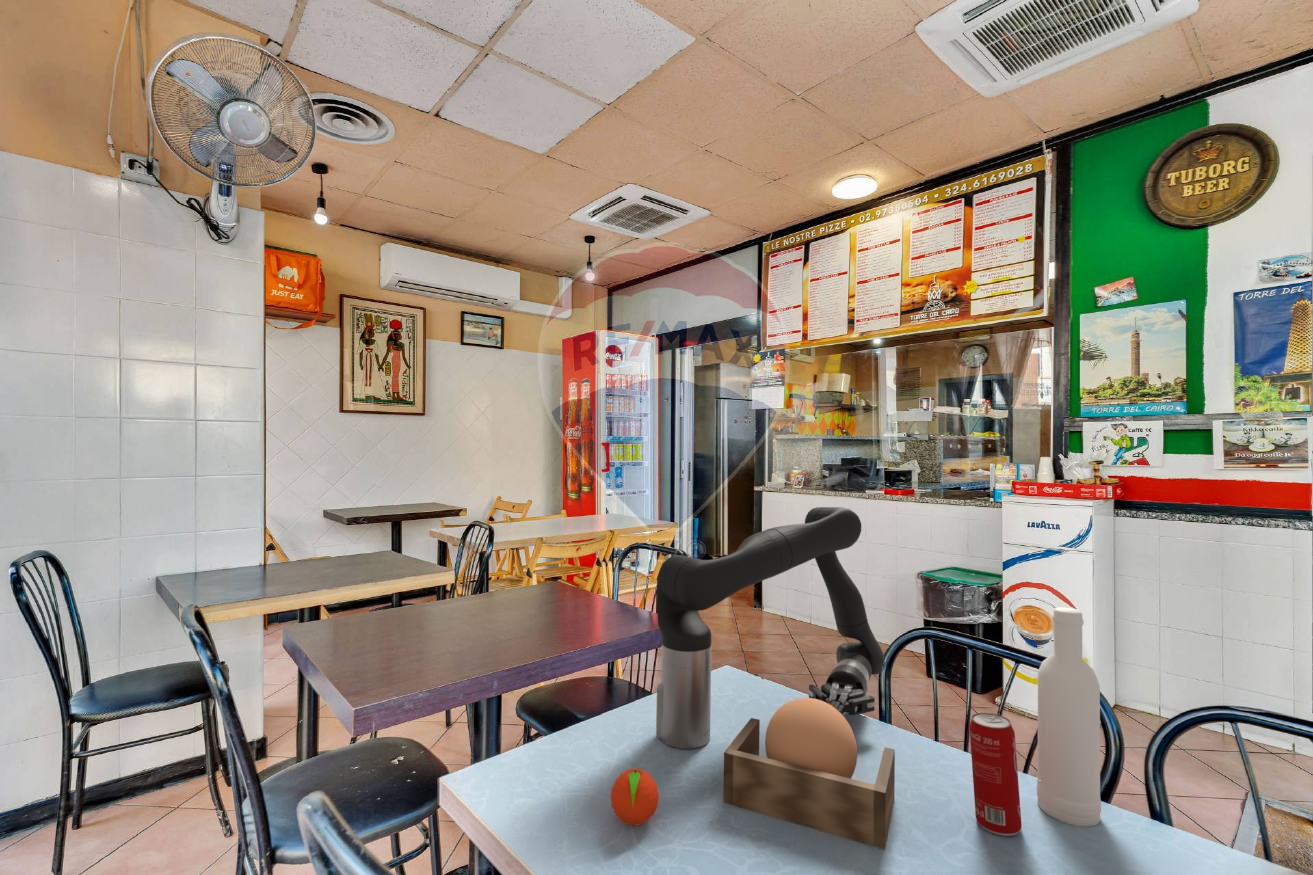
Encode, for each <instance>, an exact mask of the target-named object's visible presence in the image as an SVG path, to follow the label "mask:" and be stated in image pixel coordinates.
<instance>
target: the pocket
mask: <svg viewBox="0 0 1313 875" xmlns="http://www.w3.org/2000/svg"><path fill="white" fill-rule="evenodd" d="M760 721H761V720H760V719H759V718H758V719H757V718H753V717H751V718H750V719H749V720H748V721H747V723H746V724H745V725H744V726H743V727H742V729H741V730H740V731H739V733H738V734H737V735H736V737H735V738H734V739H733V740H732V741H731V743H730V744H729V745H728V747H726V749H725V750H724V751H723V786H722V787H723V792H722V794H723V796H722V797H723V798H722V800H723V802H722V803H724V804H725V805H726V804H727V805H729V806H730V805H731V806H732V807H733V806H734V807H737V808H741V809H744V810H747V811H751V812H755V813H757V814H761V815H765V816H768V817H771V818H774V819H779V820H782V821H785V822H789V823H792V824H795V825H799V826H803V827H805V828H808V829H813V830H817V831H819V832H822V833H826V834H829V835H832V836H837V837H839V838H842V839H843V838H844V839H845V840H846V839H847V840H851V841H854V842H856V843H861V844H864V845H868V846H870V847H874V848H877V849H881V850H886V847H887V842H888V836H889V830H890V825H891V820H892V815H893V809H894V803H895V798H896V797H895V787H896V786H895V784H896V781H895V780H896V779H895V777H896V776H895V774H896V773H895V772H896V771H895V770H896V769H895V768H896V766H895V765H896V764H895V762H896V757H895V755H896V752H895V749H894V748H889V747H886V746H884V747H883V751H882V755H881V760H880V764H879V768H878V771H877V777H876V780H875V784H874V783H870V782H866V781H861V780H858V779H853V778H851V779H850V778H846V777H842V776H838V775H834V774H830V773H826V772H822V771H818V770H814V769H810V768H805V767H801V766H797V765H793V764H789V763H785V762H781V761H777V760H773V759H769V758H767V757H764V756H760V728H761V727H760V726H761V725H760V724H761V723H760Z"/></svg>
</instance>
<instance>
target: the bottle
mask: <svg viewBox="0 0 1313 875" xmlns="http://www.w3.org/2000/svg"><path fill="white" fill-rule="evenodd" d="M1051 618H1052V619H1051V620H1052V621H1053V653H1052V654H1051V655H1049V656H1048V657H1046V658H1045V659H1044V660H1042V661H1041V664H1040V665H1039V667H1038V668H1039V669H1038V671H1037V780H1036V796H1037V805H1038V806H1039V808H1040V809H1041V810H1042V812H1044V813H1045V814H1046V815H1048V816H1049V817H1051V818H1054V819H1055V820H1057V821H1059V822H1062V823H1064V822H1065V824H1067V825H1072V826H1075V825H1076V826H1077V827H1081V826H1082V827H1085V828H1086V827H1087V828H1089V827H1090V828H1091V827H1094V826H1098V824H1099V823H1100V822H1101V814H1102V800H1101V710H1100V709H1101V701H1100V700H1101V694H1100V693H1101V689H1100V688H1101V686H1100V683H1099V680H1098V677H1097V675H1096V672H1095V670H1094V668H1093V667H1091V666H1090V664H1089V663H1088V662H1087V661H1086V660H1084V658H1083V625H1084V619H1083V613H1082V611H1081V610H1079V609H1075V608H1070V607H1064V606H1063V607H1061V606H1060V607H1059V606H1058V607H1055V608H1053V615H1052V617H1051ZM1039 780H1041V781H1039ZM1076 826H1075V827H1076Z"/></svg>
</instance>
